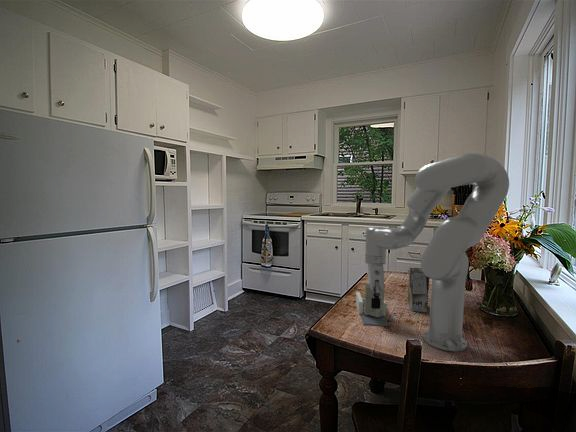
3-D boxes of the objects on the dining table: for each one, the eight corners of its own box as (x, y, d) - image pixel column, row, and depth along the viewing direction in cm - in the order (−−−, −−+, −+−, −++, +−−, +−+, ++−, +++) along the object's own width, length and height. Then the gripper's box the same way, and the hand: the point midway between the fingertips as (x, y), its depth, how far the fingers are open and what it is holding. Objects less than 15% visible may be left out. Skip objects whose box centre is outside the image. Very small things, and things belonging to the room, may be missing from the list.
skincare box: (383, 315, 119) (386, 284, 118) (378, 318, 115) (381, 286, 114) (367, 310, 123) (370, 280, 122) (362, 312, 120) (365, 282, 119)
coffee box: (428, 312, 124) (430, 273, 123) (411, 311, 125) (412, 272, 124) (422, 304, 133) (424, 267, 132) (407, 303, 134) (408, 267, 133)
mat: (389, 326, 111) (389, 325, 111) (363, 324, 112) (363, 323, 112) (384, 316, 120) (384, 315, 120) (360, 314, 121) (360, 313, 121)
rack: (386, 315, 120) (386, 303, 120) (358, 314, 121) (359, 302, 121) (380, 304, 133) (380, 293, 132) (355, 303, 134) (356, 291, 133)
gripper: (390, 264, 109) (388, 314, 110) (381, 255, 126) (380, 297, 127) (368, 264, 109) (367, 312, 111) (362, 254, 127) (361, 296, 128)
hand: (374, 304), depth 119 cm, fingers closed on skincare box, 6 cm apart
